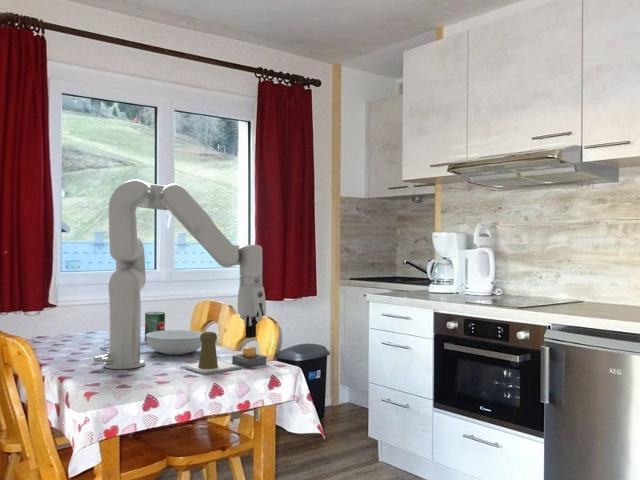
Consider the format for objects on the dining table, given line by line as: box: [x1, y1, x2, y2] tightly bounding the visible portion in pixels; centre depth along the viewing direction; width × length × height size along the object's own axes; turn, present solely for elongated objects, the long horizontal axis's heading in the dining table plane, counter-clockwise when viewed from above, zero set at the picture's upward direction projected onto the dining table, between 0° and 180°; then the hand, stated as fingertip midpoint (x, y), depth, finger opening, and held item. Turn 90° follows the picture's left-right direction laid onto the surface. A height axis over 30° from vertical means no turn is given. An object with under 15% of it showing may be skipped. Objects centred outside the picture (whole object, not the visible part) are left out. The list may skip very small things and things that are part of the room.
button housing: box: [231, 353, 267, 369], centre depth 195 cm, size 8×8×3 cm
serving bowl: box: [146, 329, 203, 356], centre depth 213 cm, size 21×21×7 cm
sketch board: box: [185, 361, 243, 376], centre depth 187 cm, size 14×11×1 cm
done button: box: [242, 346, 257, 358], centre depth 195 cm, size 4×4×3 cm
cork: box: [198, 331, 218, 369], centre depth 186 cm, size 6×6×11 cm
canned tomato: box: [144, 311, 166, 342], centre depth 240 cm, size 8×8×11 cm
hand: (250, 337), depth 195 cm, fingers closed
